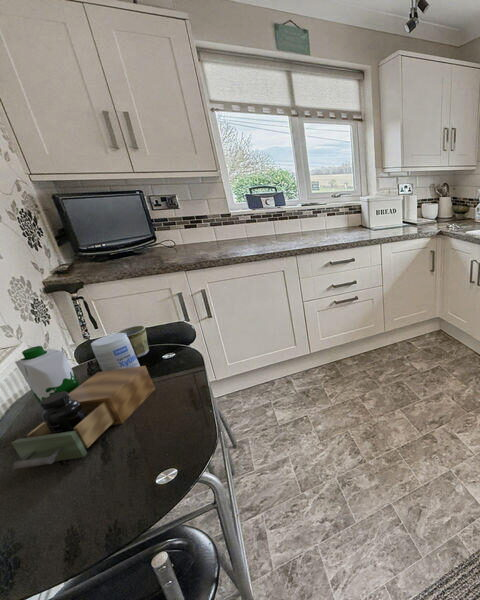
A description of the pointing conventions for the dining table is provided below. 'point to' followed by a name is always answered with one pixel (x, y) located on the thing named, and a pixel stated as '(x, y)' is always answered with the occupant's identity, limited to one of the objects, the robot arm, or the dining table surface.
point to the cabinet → (116, 390)
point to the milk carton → (47, 372)
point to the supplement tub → (114, 352)
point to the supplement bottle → (61, 412)
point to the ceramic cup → (137, 339)
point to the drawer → (64, 438)
